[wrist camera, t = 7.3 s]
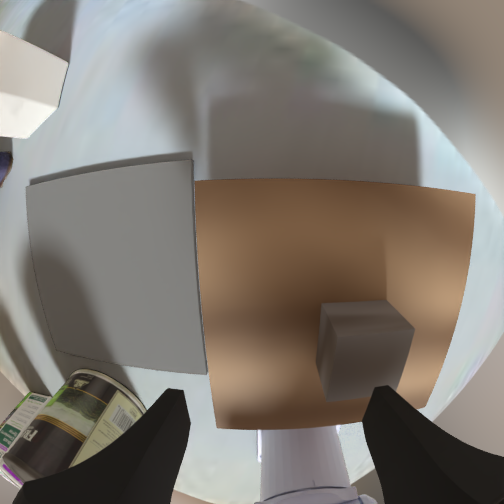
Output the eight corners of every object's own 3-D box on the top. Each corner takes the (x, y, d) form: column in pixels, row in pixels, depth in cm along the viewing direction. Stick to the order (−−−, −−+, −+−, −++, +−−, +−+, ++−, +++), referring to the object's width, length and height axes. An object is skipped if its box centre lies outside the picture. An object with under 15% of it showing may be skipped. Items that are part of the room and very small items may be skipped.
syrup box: (51, 395, 23) (-6, 465, 9) (74, 427, 25) (29, 497, 10) (29, 390, 24) (-24, 449, 10) (51, 421, 25) (7, 481, 11)
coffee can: (62, 393, 23) (3, 467, 9) (83, 351, 21) (-2, 445, 7) (129, 445, 24) (91, 529, 11) (168, 415, 22) (124, 532, 9)
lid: (420, 400, 15) (441, 434, 11) (218, 419, 16) (210, 465, 12) (467, 193, 12) (513, 199, 8) (198, 181, 12) (171, 178, 8)
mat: (207, 370, 21) (206, 374, 20) (59, 347, 21) (56, 350, 21) (193, 160, 17) (191, 159, 16) (30, 186, 18) (25, 186, 17)
